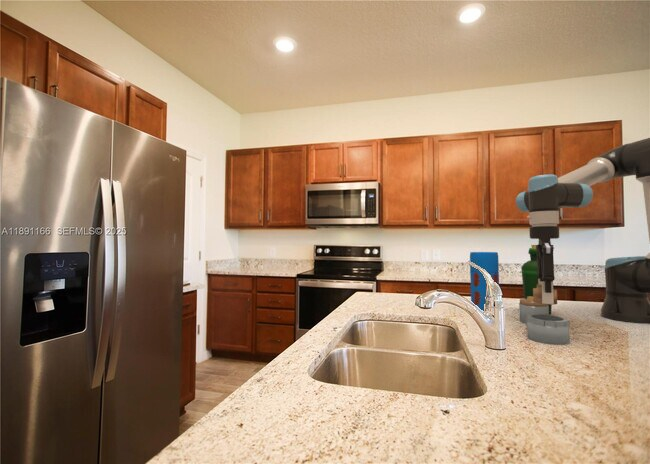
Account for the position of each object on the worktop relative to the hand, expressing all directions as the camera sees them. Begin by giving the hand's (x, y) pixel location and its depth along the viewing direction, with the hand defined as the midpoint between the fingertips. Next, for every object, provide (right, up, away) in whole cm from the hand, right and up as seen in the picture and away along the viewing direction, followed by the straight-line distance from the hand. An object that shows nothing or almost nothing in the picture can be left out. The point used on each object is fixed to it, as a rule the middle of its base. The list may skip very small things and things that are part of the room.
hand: (546, 301), depth 97 cm
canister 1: (+9, -12, +20) cm, 25 cm away
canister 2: (0, -11, 0) cm, 11 cm away
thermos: (0, -13, +38) cm, 40 cm away
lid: (0, 0, 0) cm, 0 cm away
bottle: (+18, -12, +31) cm, 38 cm away
